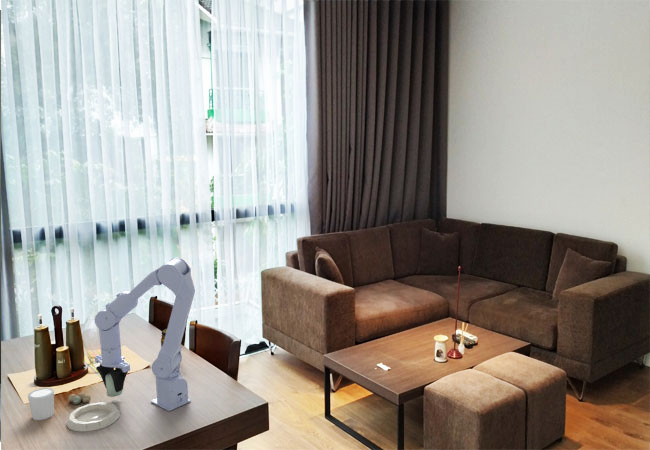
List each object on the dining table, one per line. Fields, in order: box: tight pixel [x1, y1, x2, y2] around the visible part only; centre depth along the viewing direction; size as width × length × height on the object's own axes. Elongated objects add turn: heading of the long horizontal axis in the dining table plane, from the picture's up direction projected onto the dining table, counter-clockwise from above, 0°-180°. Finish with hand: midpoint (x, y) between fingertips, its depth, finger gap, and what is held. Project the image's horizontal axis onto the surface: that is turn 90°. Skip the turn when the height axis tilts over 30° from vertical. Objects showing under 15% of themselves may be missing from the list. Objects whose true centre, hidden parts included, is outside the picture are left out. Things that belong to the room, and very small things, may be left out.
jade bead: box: [105, 373, 123, 398], centre depth 171 cm, size 4×4×6 cm
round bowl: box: [66, 401, 121, 433], centre depth 160 cm, size 14×14×2 cm
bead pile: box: [67, 392, 91, 405], centre depth 170 cm, size 6×5×2 cm
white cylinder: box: [27, 387, 55, 421], centre depth 162 cm, size 7×7×7 cm
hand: (114, 388), depth 171 cm, fingers closed on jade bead, 4 cm apart
